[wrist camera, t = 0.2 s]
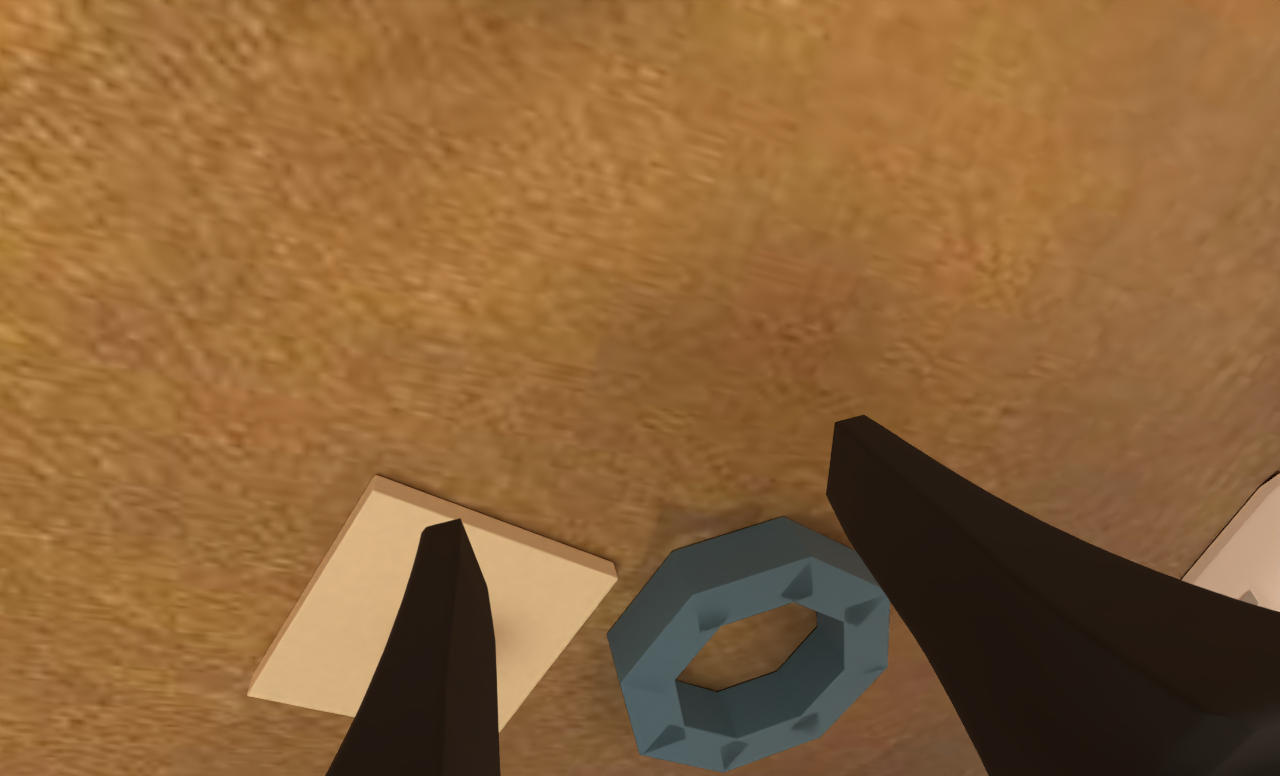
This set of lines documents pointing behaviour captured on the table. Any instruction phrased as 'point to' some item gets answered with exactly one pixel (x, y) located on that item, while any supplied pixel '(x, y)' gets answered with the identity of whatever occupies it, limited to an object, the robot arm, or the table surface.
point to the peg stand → (375, 585)
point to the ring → (730, 591)
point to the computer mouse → (1246, 553)
